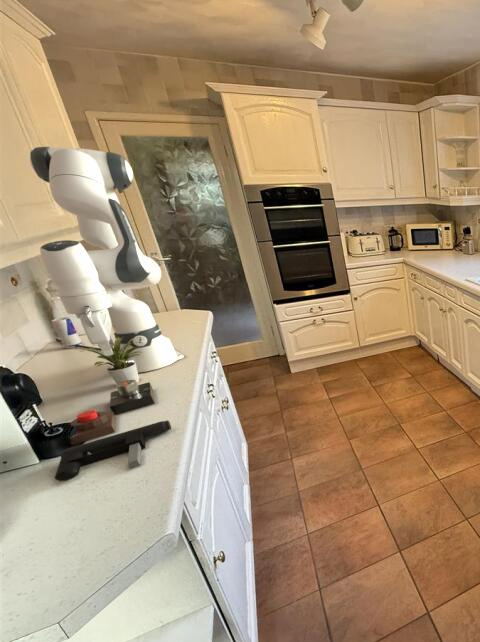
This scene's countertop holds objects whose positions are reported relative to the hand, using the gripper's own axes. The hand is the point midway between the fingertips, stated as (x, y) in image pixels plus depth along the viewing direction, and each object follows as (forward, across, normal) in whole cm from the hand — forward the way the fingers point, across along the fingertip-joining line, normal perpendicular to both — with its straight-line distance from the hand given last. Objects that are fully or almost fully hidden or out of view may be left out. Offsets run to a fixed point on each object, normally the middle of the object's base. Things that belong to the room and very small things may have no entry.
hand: (110, 350), depth 112 cm
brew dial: (+14, 0, 0) cm, 14 cm away
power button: (+14, -13, +8) cm, 20 cm away
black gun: (+18, -33, +3) cm, 37 cm away
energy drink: (+17, +85, +19) cm, 89 cm away
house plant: (+17, +18, +2) cm, 25 cm away
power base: (+17, -13, +8) cm, 23 cm away
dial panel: (+17, 0, 0) cm, 17 cm away
